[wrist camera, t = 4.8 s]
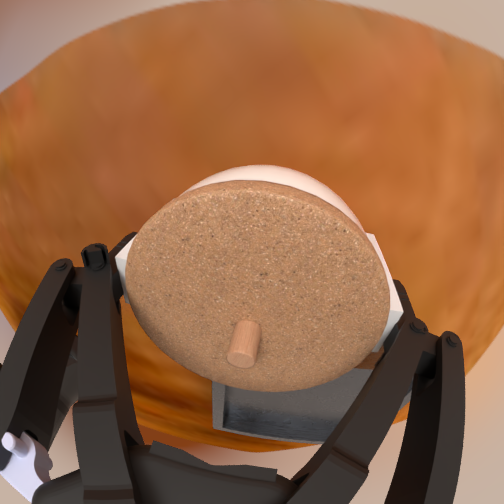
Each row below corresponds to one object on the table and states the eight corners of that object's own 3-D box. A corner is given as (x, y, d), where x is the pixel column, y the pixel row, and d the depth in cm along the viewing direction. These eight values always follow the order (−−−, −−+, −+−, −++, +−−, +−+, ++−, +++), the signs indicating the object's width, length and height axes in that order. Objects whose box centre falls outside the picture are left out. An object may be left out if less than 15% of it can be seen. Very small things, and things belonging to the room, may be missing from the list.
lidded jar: (391, 195, 14) (465, 308, 6) (308, 316, 20) (301, 434, 12) (216, 115, 13) (107, 150, 5) (173, 262, 19) (108, 365, 11)
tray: (218, 409, 32) (213, 428, 29) (221, 316, 21) (212, 345, 19) (354, 426, 30) (354, 444, 28) (432, 345, 20) (439, 371, 17)
